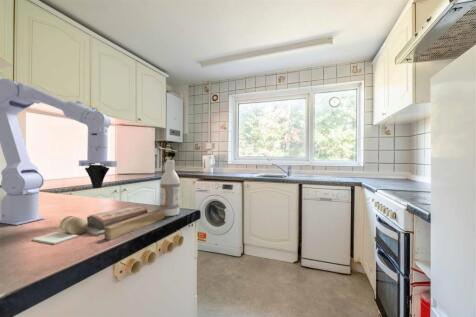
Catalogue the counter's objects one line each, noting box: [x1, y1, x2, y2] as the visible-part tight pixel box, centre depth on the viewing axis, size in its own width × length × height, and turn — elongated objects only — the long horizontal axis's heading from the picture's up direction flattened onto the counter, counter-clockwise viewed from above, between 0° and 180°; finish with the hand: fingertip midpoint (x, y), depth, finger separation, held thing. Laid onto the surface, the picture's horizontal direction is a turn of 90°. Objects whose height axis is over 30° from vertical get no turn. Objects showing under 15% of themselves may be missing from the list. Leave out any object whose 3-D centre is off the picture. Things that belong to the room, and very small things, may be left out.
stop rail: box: [104, 208, 165, 241], centre depth 68 cm, size 2×22×3 cm, turn 162°
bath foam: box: [159, 159, 181, 217], centre depth 84 cm, size 7×7×20 cm
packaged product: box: [84, 205, 149, 237], centre depth 70 cm, size 18×5×10 cm
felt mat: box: [31, 231, 79, 245], centre depth 57 cm, size 8×6×1 cm
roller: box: [59, 215, 88, 236], centre depth 62 cm, size 5×4×4 cm
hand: (97, 187), depth 76 cm, fingers closed
